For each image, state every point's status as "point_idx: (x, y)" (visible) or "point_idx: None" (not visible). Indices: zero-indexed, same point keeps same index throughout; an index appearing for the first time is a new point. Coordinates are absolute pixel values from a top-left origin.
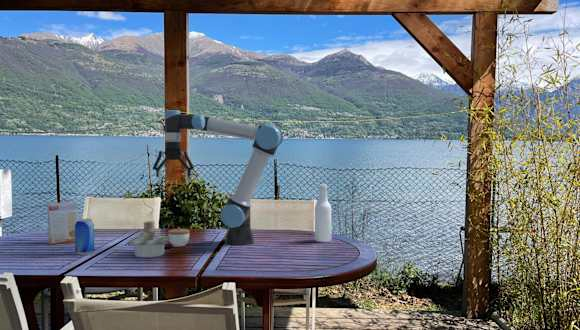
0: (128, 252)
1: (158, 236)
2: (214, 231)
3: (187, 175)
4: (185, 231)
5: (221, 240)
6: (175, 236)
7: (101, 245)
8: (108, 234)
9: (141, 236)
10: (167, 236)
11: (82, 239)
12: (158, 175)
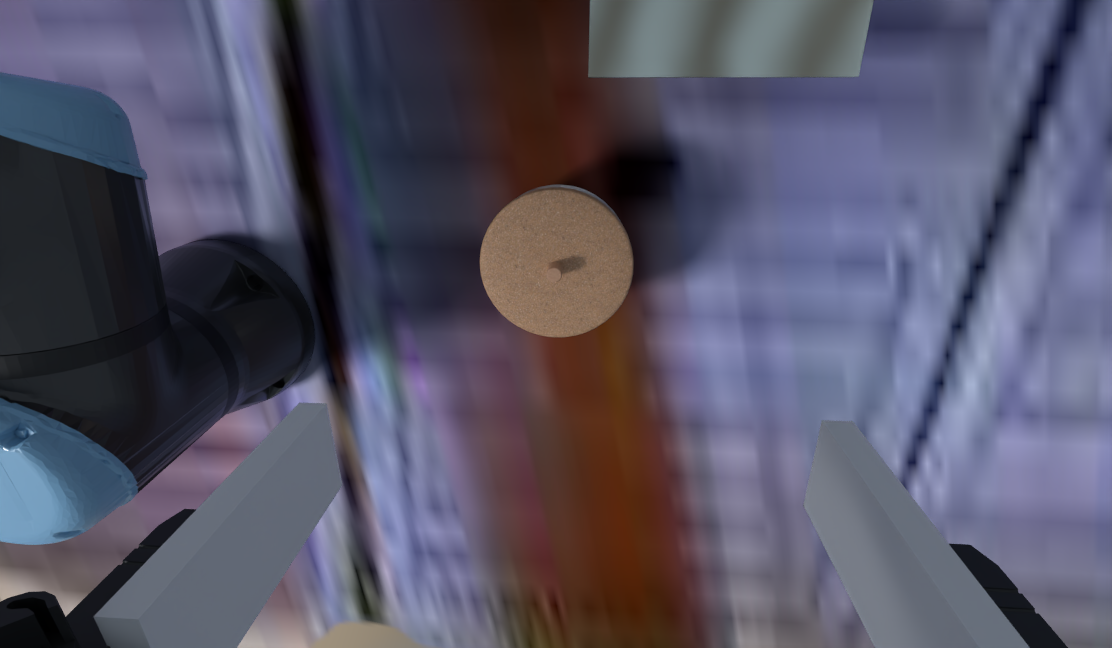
0: (871, 18)
1: (677, 48)
2: (447, 593)
3: (197, 526)
4: (498, 223)
5: (349, 375)
6: (568, 186)
7: (1067, 262)
8: (1022, 564)
9: (818, 50)
10: (603, 46)
11: None
12: (954, 551)
